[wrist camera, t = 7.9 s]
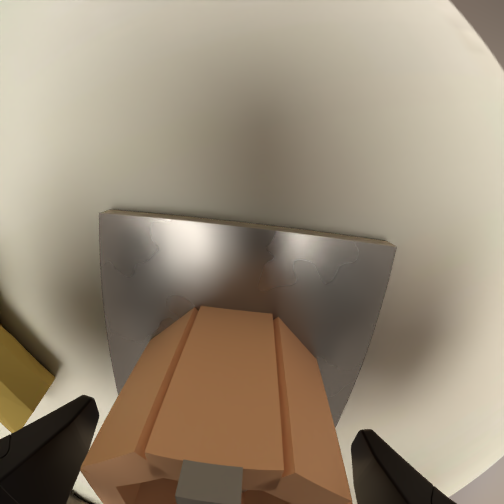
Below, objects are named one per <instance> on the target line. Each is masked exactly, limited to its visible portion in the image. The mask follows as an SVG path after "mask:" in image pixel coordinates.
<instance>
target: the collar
mask: <svg viewBox="0 0 504 504" xmlns="http://www.w3.org/2000/svg"><path fill="white" fill-rule="evenodd" d="M80 471H81V472H82V474H83V475H84V477H85V478H86V480H87V481H88V483H89V484H90V486H91V487H92V489H93V490H94V491H95V493H96V494H97V496H98V497H99V498H100V500H101V501H102V502H103V504H352V498H351V494H350V489H349V485H348V480H347V476H346V472H345V467H344V463H343V459H342V455H341V451H340V447H339V442H338V438H337V434H336V430H335V426H334V422H333V419H332V415H331V411H330V407H329V403H328V399H327V395H326V392H325V388H324V384H323V380H322V377H321V373H320V369H319V366H318V362H317V359H316V358H315V357H314V356H313V355H312V354H311V353H310V351H309V350H308V349H307V348H306V347H305V346H304V345H303V344H302V343H301V341H300V340H299V339H298V338H297V337H296V336H295V335H294V334H293V332H292V331H291V330H290V329H289V328H288V327H287V326H286V325H285V323H284V322H283V321H282V320H281V319H280V318H279V317H277V318H276V319H274V320H273V315H272V314H271V313H260V312H250V311H241V310H232V309H223V308H215V307H207V306H201V307H200V309H199V311H198V310H197V309H196V308H195V307H194V308H193V309H192V310H190V311H189V312H188V313H186V314H185V315H184V316H182V317H181V318H180V319H178V320H177V321H176V322H174V323H173V324H172V325H170V326H169V327H168V328H166V329H165V330H164V331H162V332H161V333H159V334H158V335H157V336H155V337H154V338H153V339H151V340H150V341H149V343H148V345H147V346H146V348H145V350H144V352H143V353H142V355H141V357H140V358H139V360H138V362H137V364H136V365H135V367H134V369H133V371H132V372H131V374H130V376H129V378H128V379H127V381H126V383H125V385H124V387H123V388H122V390H121V392H120V394H119V396H118V397H117V399H116V401H115V403H114V405H113V406H112V408H111V410H110V412H109V414H108V416H107V417H106V419H105V421H104V423H103V425H102V427H101V429H100V431H99V432H98V434H97V436H96V438H95V440H94V442H93V444H92V446H91V448H90V450H89V452H88V454H87V455H86V457H85V459H84V461H83V463H82V465H81V469H80ZM242 489H244V490H247V491H245V492H243V493H242Z"/></svg>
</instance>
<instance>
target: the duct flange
mask: <svg viewBox="0 0 504 504" xmlns="http://www.w3.org/2000/svg"><path fill="white" fill-rule="evenodd" d="M99 242H100V266H101V282H102V294H103V304H104V313H105V322H106V329H107V336H108V343H109V349H110V355H111V361H112V366H113V372H114V377H115V382H116V386H117V391H118V395H119V394H120V392H121V390H122V388H123V387H124V385H125V383H126V381H127V379H128V378H129V376H130V374H131V372H132V371H133V369H134V367H135V365H136V364H137V362H138V360H139V358H140V357H141V355H142V353H143V352H144V350H145V348H146V346H147V345H148V343H149V341H150V340H151V339H153V338H154V337H155V336H157V335H158V334H159V333H161V332H162V331H164V330H165V329H166V328H168V327H169V326H170V325H172V324H173V323H174V322H176V321H177V320H178V319H180V318H181V317H182V316H184V315H185V314H186V313H188V312H189V311H190V310H192V309H193V308H194V307H195V308H196V309H197V310H198V311H199V309H200V307H201V306H207V307H215V308H223V309H232V310H241V311H250V312H260V313H271V314H272V315H273V320H274V319H276V318H277V317H279V318H280V319H281V320H282V321H283V322H284V323H285V325H286V326H287V327H288V328H289V329H290V330H291V331H292V332H293V334H294V335H295V336H296V337H297V338H298V339H299V340H300V341H301V343H302V344H303V345H304V346H305V347H306V348H307V349H308V350H309V351H310V353H311V354H312V355H313V356H314V357H315V358H316V359H317V362H318V366H319V369H320V373H321V377H322V380H323V384H324V388H325V392H326V395H327V399H328V403H329V407H330V411H331V415H332V419H333V422H334V426H335V427H336V425H337V423H338V421H339V419H340V416H341V414H342V412H343V410H344V407H345V405H346V403H347V401H348V398H349V396H350V393H351V391H352V389H353V386H354V384H355V381H356V379H357V376H358V374H359V371H360V368H361V366H362V363H363V360H364V358H365V355H366V352H367V349H368V346H369V343H370V341H371V338H372V335H373V332H374V328H375V325H376V322H377V319H378V316H379V312H380V309H381V306H382V302H383V299H384V295H385V292H386V288H387V284H388V280H389V277H390V273H391V269H392V264H393V260H394V256H395V252H396V246H394V245H393V244H391V243H389V242H388V241H383V240H376V239H370V238H363V237H356V236H349V235H341V234H334V233H327V232H319V231H311V230H304V229H296V228H288V227H280V226H271V225H263V224H255V223H246V222H237V221H228V220H219V219H209V218H199V217H189V216H179V215H169V214H158V213H147V212H135V211H123V210H111V209H110V210H107V211H104V212H101V213H99ZM245 491H247V490H244V489H242V493H243V492H245Z"/></svg>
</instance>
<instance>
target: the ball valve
mask: <svg viewBox="0 0 504 504" xmlns="http://www.w3.org/2000/svg"><path fill="white" fill-rule="evenodd" d="M54 379H55V377H54V376H53V375H52V374H51V373H50V372H49V371H48V370H46V369H45V368H44V367H43V366H42V365H41V364H40V363H39V362H38V361H37V360H36V359H35V358H34V357H33V356H32V355H31V354H30V353H29V352H28V351H27V350H26V349H25V348H24V347H23V346H22V345H21V344H20V343H19V342H18V341H17V340H16V339H15V338H14V337H13V336H12V335H11V334H10V333H9V332H7V331H6V330H5V329H4V328H3V327H2V326H1V324H0V422H1V423H2V424H3V425H4V426H5V427H6V428H7V429H8V430H9V431H10V432H11V433H14V432H16V431H17V430H19V429H21V428H23V426H24V425H25V423H26V422H27V420H28V419H29V417H30V416H31V414H32V413H33V412H34V410H35V408H36V407H37V405H38V404H39V402H40V401H41V399H42V398H43V396H44V395H45V393H46V392H47V390H48V389H49V387H50V386H51V384H52V383H53V381H54Z"/></svg>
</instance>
